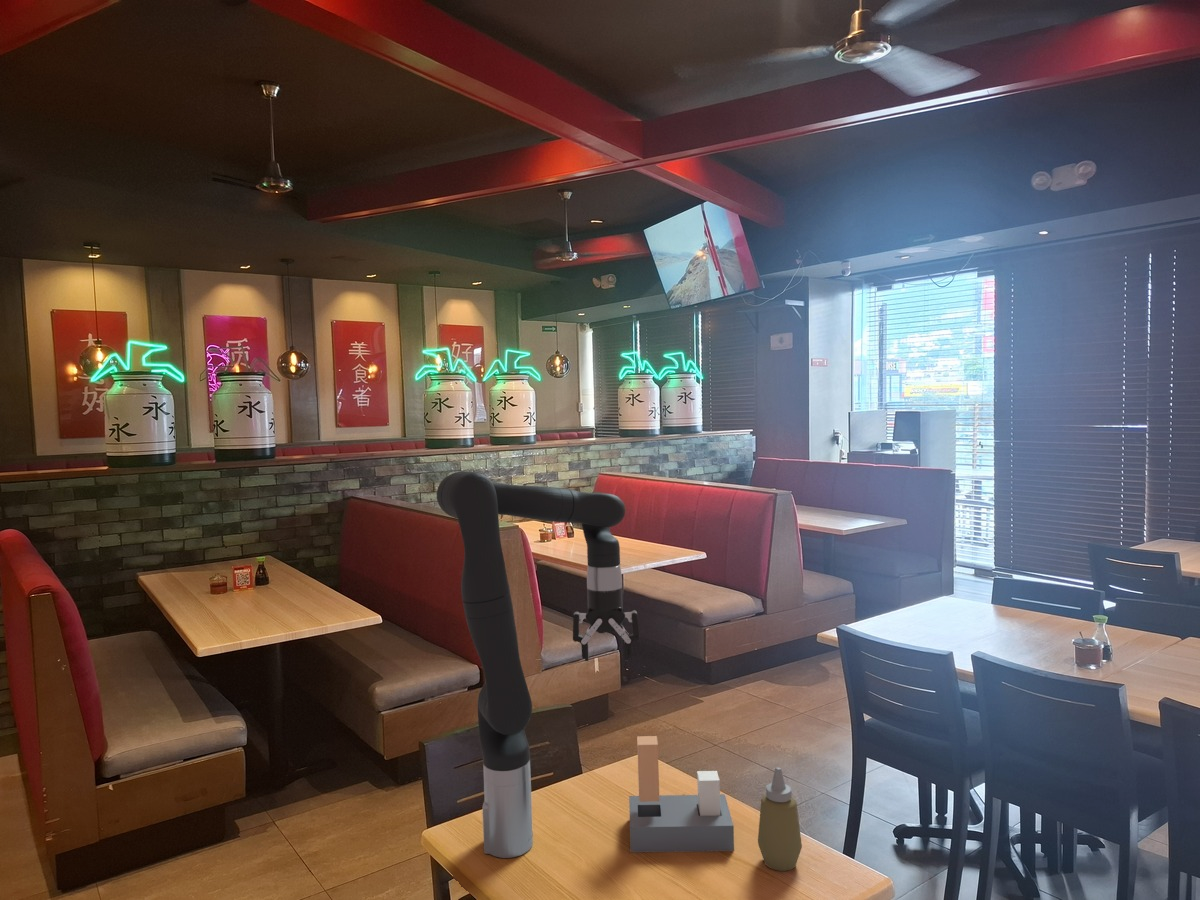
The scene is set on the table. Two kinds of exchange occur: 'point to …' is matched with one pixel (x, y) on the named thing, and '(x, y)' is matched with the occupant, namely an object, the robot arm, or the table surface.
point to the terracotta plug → (648, 768)
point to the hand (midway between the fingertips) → (606, 659)
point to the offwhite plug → (708, 793)
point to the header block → (678, 825)
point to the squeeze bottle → (779, 826)
